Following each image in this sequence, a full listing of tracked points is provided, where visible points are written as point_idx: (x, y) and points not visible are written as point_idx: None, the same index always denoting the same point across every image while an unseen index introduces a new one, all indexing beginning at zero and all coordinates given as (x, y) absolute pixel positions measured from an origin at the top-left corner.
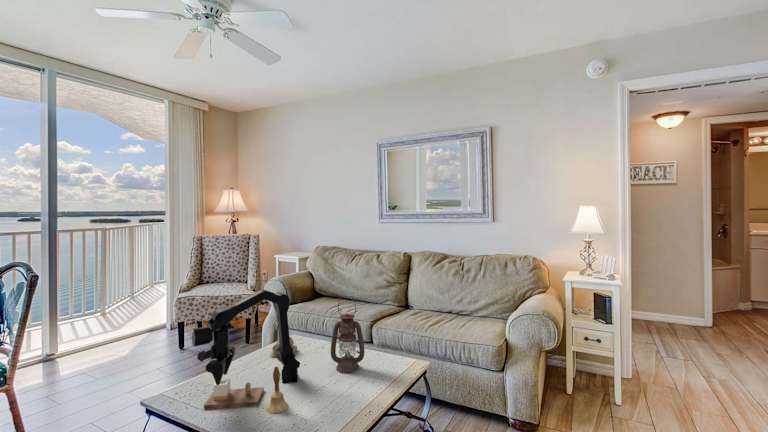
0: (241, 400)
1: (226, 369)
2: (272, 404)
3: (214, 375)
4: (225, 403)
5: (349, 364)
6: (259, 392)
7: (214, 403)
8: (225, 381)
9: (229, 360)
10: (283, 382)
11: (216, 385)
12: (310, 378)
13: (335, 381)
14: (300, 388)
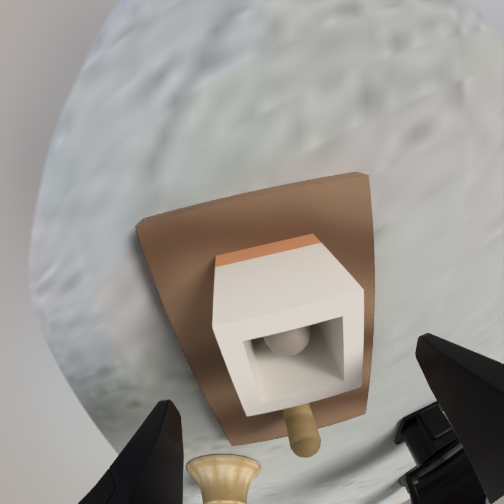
0: (233, 402)
1: (442, 392)
2: (200, 484)
3: (101, 500)
4: (186, 349)
5: (408, 492)
6: (316, 424)
7: (172, 287)
8: (337, 357)
9: (488, 469)
10: (402, 422)
11: (221, 349)
12: (405, 450)
13: (368, 484)
14: (349, 463)
